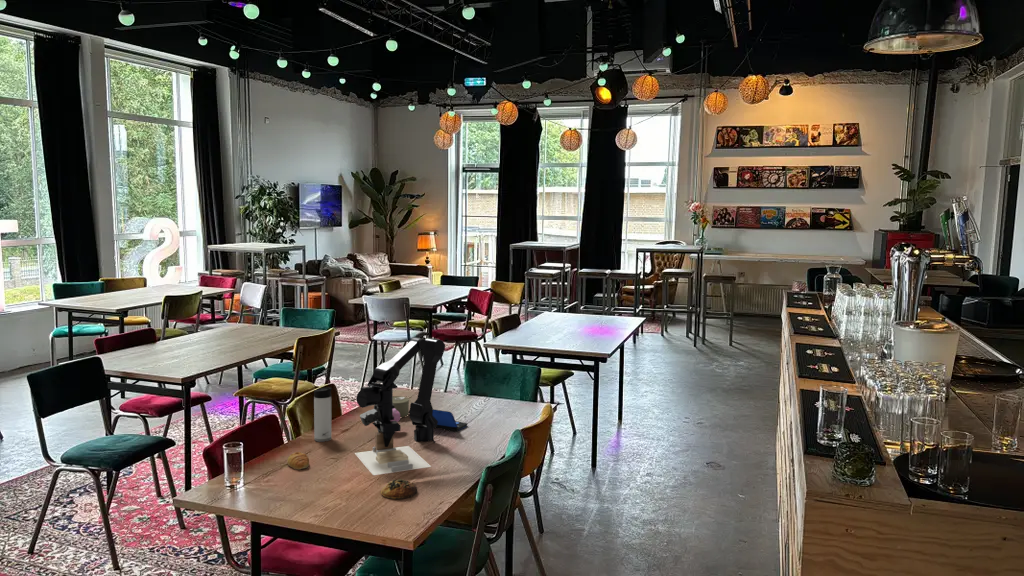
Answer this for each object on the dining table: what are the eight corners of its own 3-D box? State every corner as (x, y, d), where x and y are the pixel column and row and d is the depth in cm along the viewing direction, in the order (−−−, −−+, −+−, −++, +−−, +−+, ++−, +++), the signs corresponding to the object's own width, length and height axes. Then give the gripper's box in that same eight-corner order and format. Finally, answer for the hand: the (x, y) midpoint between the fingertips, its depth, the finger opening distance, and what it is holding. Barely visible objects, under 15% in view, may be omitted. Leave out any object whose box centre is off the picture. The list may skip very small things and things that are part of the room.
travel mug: (327, 442, 263) (327, 390, 261) (311, 441, 264) (311, 389, 262) (335, 437, 269) (334, 386, 267) (319, 436, 270) (318, 385, 268)
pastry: (313, 468, 236) (313, 457, 236) (293, 472, 232) (293, 461, 232) (305, 460, 244) (304, 449, 243) (285, 464, 240) (285, 453, 240)
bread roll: (420, 497, 212) (418, 481, 212) (383, 506, 209) (381, 490, 209) (414, 485, 223) (412, 470, 222) (379, 493, 220) (377, 478, 220)
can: (374, 415, 300) (374, 400, 300) (394, 410, 310) (394, 394, 310) (395, 420, 294) (395, 404, 293) (414, 414, 303) (414, 399, 303)
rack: (408, 448, 258) (408, 441, 258) (431, 469, 237) (431, 462, 236) (354, 455, 249) (354, 448, 249) (373, 478, 228) (373, 470, 227)
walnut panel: (391, 449, 253) (391, 430, 252) (393, 451, 251) (393, 432, 250) (375, 452, 250) (375, 432, 250) (376, 453, 248) (376, 434, 248)
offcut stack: (403, 455, 247) (403, 448, 247) (408, 459, 243) (408, 453, 243) (375, 459, 243) (375, 452, 242) (379, 463, 238) (379, 457, 238)
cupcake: (402, 430, 280) (402, 405, 279) (397, 437, 271) (397, 411, 270) (381, 429, 281) (381, 404, 280) (374, 435, 272) (374, 410, 271)
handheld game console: (468, 426, 288) (469, 404, 287) (451, 435, 276) (451, 412, 275) (436, 421, 295) (436, 399, 294) (418, 429, 283) (418, 407, 282)
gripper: (355, 398, 254) (355, 440, 255) (369, 410, 237) (369, 456, 239) (385, 395, 259) (385, 436, 260) (401, 407, 242) (400, 451, 244)
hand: (384, 444), depth 250 cm, fingers open, 4 cm apart
